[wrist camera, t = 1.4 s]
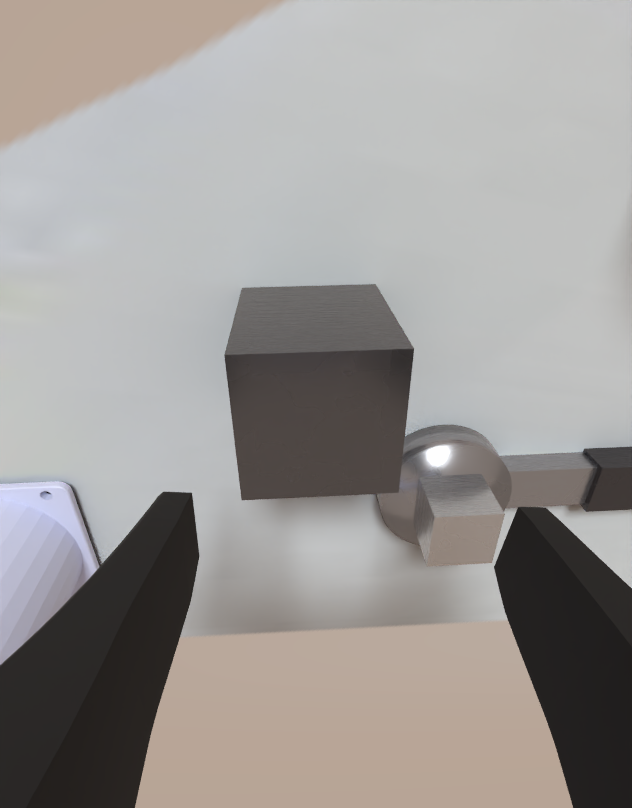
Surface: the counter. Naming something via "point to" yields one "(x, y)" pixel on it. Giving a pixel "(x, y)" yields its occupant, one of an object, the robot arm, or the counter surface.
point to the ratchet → (490, 490)
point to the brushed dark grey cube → (317, 391)
